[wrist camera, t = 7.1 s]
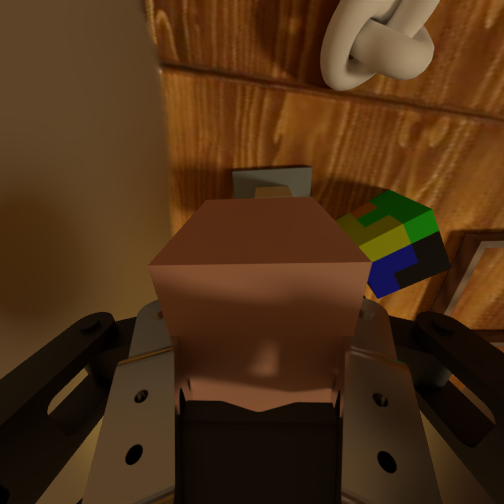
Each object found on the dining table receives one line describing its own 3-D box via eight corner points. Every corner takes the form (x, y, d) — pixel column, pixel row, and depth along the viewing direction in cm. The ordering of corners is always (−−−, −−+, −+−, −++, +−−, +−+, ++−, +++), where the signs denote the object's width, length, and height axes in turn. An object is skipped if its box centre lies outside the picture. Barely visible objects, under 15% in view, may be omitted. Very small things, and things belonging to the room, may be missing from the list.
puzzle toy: (353, 263, 41) (377, 298, 32) (330, 222, 37) (351, 250, 29) (408, 236, 38) (451, 268, 29) (388, 189, 34) (432, 209, 26)
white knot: (443, 13, 25) (527, -42, 17) (368, 122, 30) (405, 118, 22) (366, -57, 22) (422, -158, 15) (300, 73, 28) (315, 51, 20)
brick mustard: (255, 187, 34) (254, 197, 28) (288, 185, 33) (292, 195, 28) (257, 228, 37) (256, 244, 32) (287, 227, 37) (291, 243, 32)
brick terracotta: (206, 199, 10) (147, 265, 5) (312, 196, 10) (372, 262, 5) (221, 311, 13) (196, 423, 8) (302, 310, 13) (330, 426, 8)
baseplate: (233, 170, 34) (232, 171, 33) (310, 166, 33) (312, 167, 32) (239, 239, 40) (238, 242, 38) (305, 237, 39) (306, 240, 38)
